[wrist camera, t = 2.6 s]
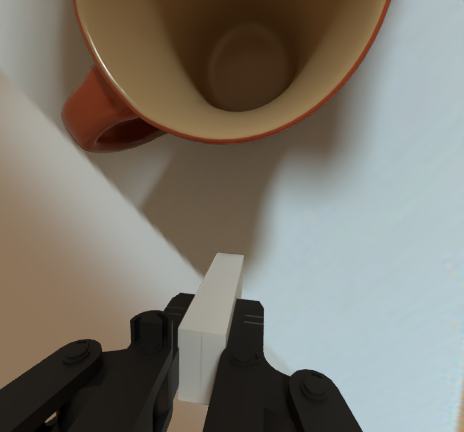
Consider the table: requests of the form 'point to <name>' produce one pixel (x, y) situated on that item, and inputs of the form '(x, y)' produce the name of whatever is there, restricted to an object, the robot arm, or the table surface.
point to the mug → (212, 67)
